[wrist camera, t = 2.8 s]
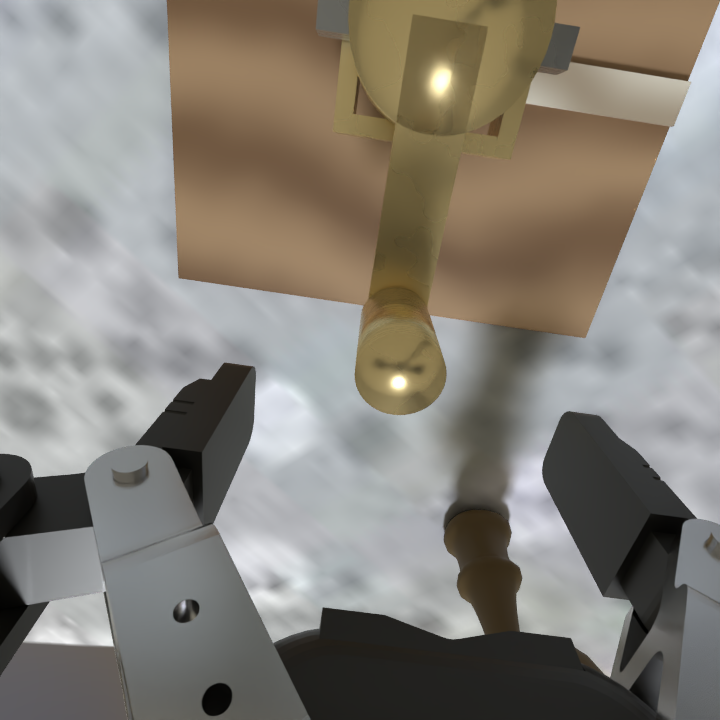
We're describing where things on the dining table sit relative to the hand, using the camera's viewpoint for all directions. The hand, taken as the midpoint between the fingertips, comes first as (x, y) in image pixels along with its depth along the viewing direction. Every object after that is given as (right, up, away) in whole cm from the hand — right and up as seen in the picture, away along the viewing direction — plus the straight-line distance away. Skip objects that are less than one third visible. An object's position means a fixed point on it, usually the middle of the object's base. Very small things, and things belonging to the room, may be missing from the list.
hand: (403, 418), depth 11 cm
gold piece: (+1, +10, +7) cm, 13 cm away
